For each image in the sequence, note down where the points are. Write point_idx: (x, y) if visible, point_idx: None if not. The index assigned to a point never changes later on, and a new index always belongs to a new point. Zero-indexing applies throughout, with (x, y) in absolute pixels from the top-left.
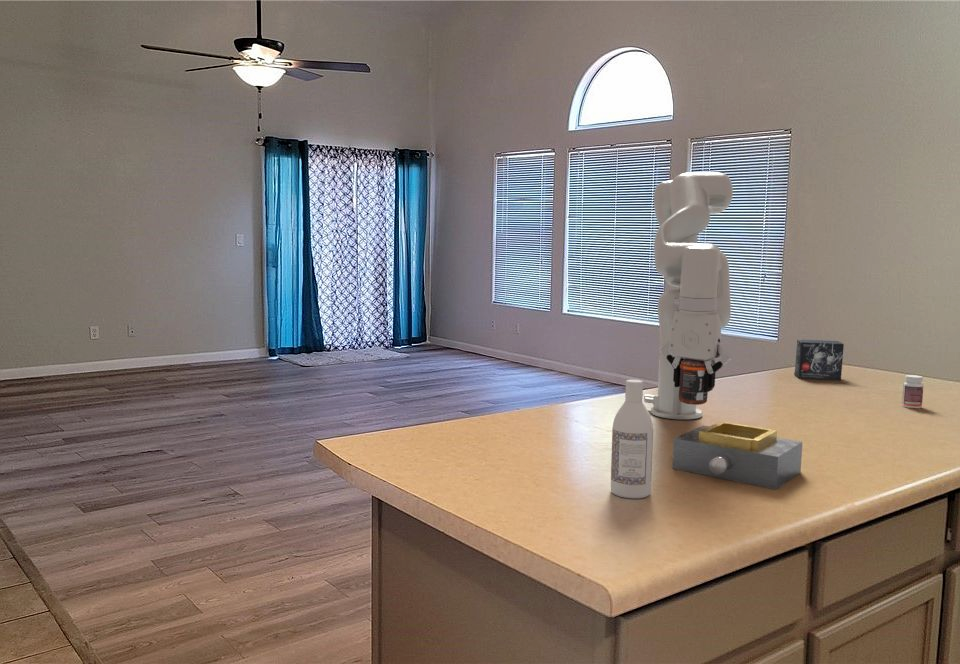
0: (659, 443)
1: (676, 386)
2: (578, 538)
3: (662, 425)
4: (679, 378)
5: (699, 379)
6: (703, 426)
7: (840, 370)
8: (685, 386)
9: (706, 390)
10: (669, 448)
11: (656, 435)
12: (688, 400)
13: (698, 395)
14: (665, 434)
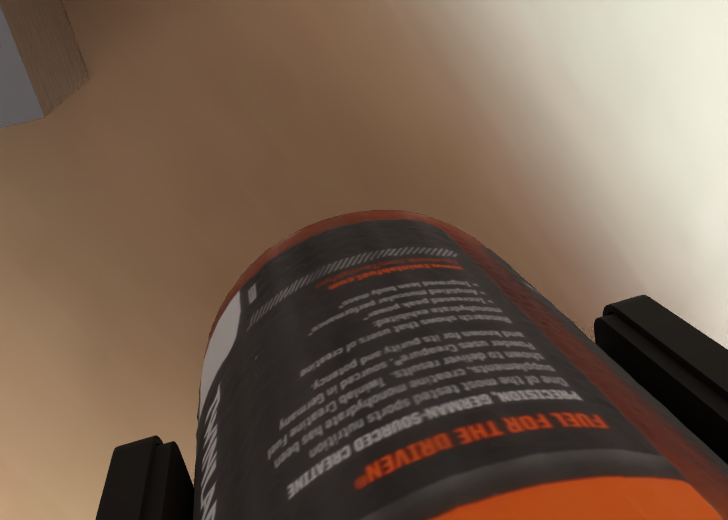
0: (464, 62)
1: (611, 304)
2: None
3: None
4: None
5: (223, 506)
6: (4, 82)
7: None
8: (421, 282)
9: (118, 451)
10: (335, 5)
11: (592, 216)
12: (323, 230)
13: (222, 341)
14: (567, 282)
